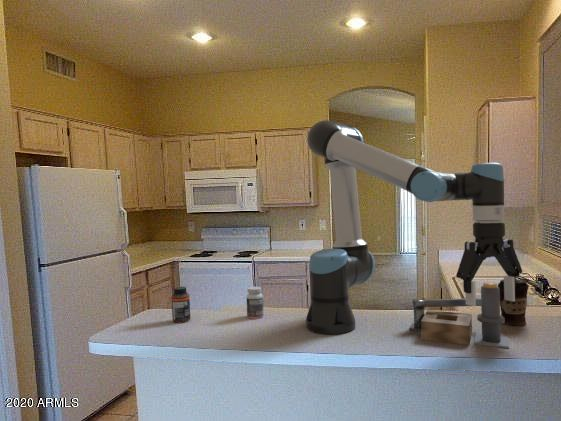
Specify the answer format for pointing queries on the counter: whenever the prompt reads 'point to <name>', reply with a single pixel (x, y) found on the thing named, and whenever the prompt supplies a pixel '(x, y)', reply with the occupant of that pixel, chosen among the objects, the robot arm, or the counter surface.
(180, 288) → the supplement bottle
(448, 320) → the socket
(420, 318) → the post
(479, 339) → the mat
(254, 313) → the pill bottle
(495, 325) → the plug
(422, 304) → the grey long bar
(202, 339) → the counter surface
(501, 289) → the coffee cup
